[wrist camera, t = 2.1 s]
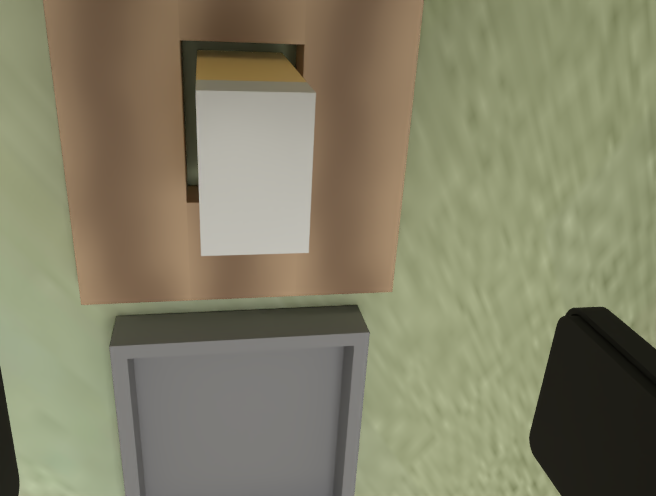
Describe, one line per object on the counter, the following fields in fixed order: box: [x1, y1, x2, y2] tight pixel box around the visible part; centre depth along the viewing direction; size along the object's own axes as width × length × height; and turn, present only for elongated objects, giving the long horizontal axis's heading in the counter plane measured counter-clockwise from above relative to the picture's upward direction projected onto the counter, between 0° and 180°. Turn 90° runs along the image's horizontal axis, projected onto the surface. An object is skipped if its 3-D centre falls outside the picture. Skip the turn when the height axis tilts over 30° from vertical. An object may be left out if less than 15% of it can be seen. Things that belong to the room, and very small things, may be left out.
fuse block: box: [195, 50, 316, 256], centre depth 26 cm, size 4×6×10 cm, turn 177°
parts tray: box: [109, 305, 370, 496], centre depth 37 cm, size 14×16×3 cm
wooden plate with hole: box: [43, 0, 424, 305], centre depth 30 cm, size 16×18×2 cm
